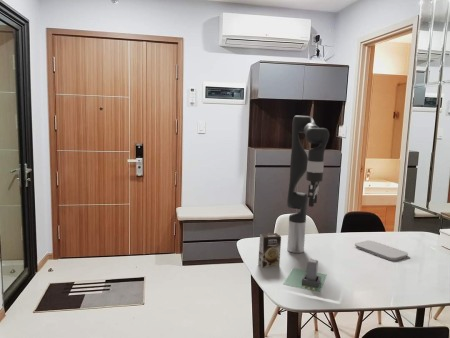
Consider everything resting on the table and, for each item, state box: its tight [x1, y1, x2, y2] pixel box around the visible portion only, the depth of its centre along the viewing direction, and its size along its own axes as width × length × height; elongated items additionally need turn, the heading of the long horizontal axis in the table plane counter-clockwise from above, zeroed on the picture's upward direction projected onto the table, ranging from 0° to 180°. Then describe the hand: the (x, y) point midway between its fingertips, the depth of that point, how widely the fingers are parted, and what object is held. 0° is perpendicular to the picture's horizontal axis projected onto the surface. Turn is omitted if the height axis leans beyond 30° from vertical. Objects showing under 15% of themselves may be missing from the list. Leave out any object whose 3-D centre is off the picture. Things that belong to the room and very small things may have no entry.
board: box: [282, 267, 328, 293], centre depth 164 cm, size 20×16×4 cm
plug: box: [306, 258, 319, 281], centre depth 159 cm, size 4×4×10 cm
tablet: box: [354, 240, 409, 262], centre depth 206 cm, size 16×26×2 cm, turn 32°
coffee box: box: [257, 232, 282, 268], centre depth 179 cm, size 9×6×16 cm
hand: (312, 204), depth 171 cm, fingers open, 8 cm apart
